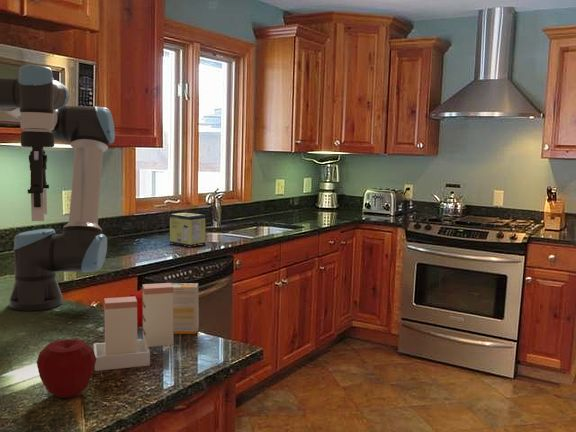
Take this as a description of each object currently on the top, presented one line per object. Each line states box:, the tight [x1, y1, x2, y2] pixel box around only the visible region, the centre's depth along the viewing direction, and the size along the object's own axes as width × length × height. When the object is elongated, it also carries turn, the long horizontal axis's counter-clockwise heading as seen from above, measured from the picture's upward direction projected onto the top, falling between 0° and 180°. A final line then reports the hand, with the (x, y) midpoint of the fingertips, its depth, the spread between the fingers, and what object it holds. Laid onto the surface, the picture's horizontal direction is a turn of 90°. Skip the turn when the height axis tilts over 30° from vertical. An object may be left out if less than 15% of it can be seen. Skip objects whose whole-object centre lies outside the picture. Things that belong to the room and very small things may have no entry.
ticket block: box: [141, 282, 174, 348], centre depth 147 cm, size 5×7×15 cm, turn 110°
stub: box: [103, 296, 138, 356], centre depth 134 cm, size 4×7×14 cm, turn 110°
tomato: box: [127, 286, 143, 327], centre depth 163 cm, size 11×13×10 cm
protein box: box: [169, 212, 206, 246], centre depth 292 cm, size 10×16×16 cm
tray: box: [93, 338, 151, 372], centre depth 135 cm, size 10×12×3 cm
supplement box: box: [170, 282, 200, 335], centre depth 156 cm, size 8×5×13 cm, turn 92°
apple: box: [36, 338, 96, 399], centre depth 115 cm, size 11×11×12 cm
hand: (39, 217), depth 143 cm, fingers open, 13 cm apart
